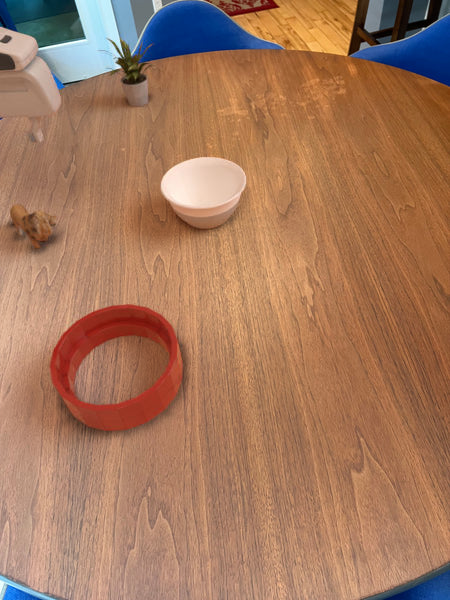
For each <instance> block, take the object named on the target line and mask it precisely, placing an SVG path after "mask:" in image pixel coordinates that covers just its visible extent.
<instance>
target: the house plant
mask: <svg viewBox="0 0 450 600" xmlns="http://www.w3.org/2000/svg"><path fill="white" fill-rule="evenodd" d="M105 39H106V40H108V41H109V42H110V43H111V44H112V45H113V47H114V49H115V50H116V52H117V53H118V55H119V57H118V56H117V55H114V54H113V53H112V52H110V56H111V57H113V60H115V61H114V63H115V64H116V65H118V66H120V67H121V69H122V70H121V69H113V68H112V67H107V70H108V69H109V70H111V71H110V73H109V76H108V77H109V79H110V77H112V76H113V75H114V74H116V73H117V74H119V75H121V76H122V77H121V78H120V80H119V81H120V84H121V86H122V90H123V91H124V94H125V97H126V100H127V101H128V103H129V104H128V105H129V106H131V107H132V108H139V107H144V106H146V105H147V104H148V103H149V77H148V75H146V73H145V72H146V71H147V69H148V68H150V67H155V65H154V64H151V63H150V62H141V60H142V58H143V56H144V55H145V53H147V51H148V49H149V48H150V47H151V46H153V45H154V43H151V44H150V45H148V46H146V48H145V50H144V51H143V53H142V54H141V51H142V45H143V41H144V40H142V41H141V43H140V45H139V49H138V53H136V54H134V55H133V56H132V53H131V48H130V43H127V42H126V41H125V40H124V39H122V38H121V37H119V42H120V46H121V49H120V47H119V46H118V45H117V43H116V42H115V41H113V40H112V39H110V38H108V37H105ZM98 52H106V54H107V55H109V51H108V50H101V49H100V50H98ZM111 54H112V55H111ZM114 56H115V57H114ZM140 63H141V64H140ZM146 65H148V66H146ZM145 66H146V67H145ZM144 67H145V69H144V70H143V68H144ZM142 70H143V72H142V73H141V71H142ZM120 72H122V73H123V74H121V73H120Z"/></svg>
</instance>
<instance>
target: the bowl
mask: <svg viewBox="0 0 450 600" xmlns="http://www.w3.org/2000/svg"><path fill="white" fill-rule="evenodd" d="M246 185H247V176H246V173H245V171H244V170H243V169H242V167H241V166H240V165H239V164H237V163H235V162H233V161H231V160H230V159H229V160H228V159H226V158H221V157H214V156H202V157H195V158H191V159H187V160H184V161H182V162H179V163H177V164H176V165H174V166H172V167H171V168H170V169H168V170H167V171H166V172H165V174H164V175H163V177H162V178H161V181H160V192H161V194H162V196H163V197H164V198H165V199H166V200H167V201H168V202H169V204H170V207H171V208H172V210H173V212H174V213H175V214H176V215H177V216H178V217H179V218H180V219H181V220H182V221H184V222H185V223H187V224H188V225H189V226H191V227H193V228H196V229H200V230H208V229H214V228H218V227H219V226H222V225H223V224H225V223H226V222H227V221H228V220H229V218H230V217H231V216H232V215H233V214H234V213H235V211H236V209H237V207H238V206H239V203H240V198H241V195H242V193H243V191H244V190H245V188H246Z"/></svg>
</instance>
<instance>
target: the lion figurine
mask: <svg viewBox="0 0 450 600" xmlns="http://www.w3.org/2000/svg"><path fill="white" fill-rule="evenodd" d="M9 215H10V218H11V221H12V223H11V226H14V227H15V228H16V231H17V233H18V236H22V235H23V232H25V234H26V236H27V237H28V238H29V241H30V242H31V243H32V245H33V246H34V248H35V249H36V250H39V249H41V248H42V246H41V245H40V244H39V242H38V241H40V242H43V243H47V242H48V241H49V237H50V236H51V235H52V233H53V228H52V227H57V222H58V216H56V215H50V214H49V213H45V211H44V210H42V209H39V210H36V211H35V210H34V211H33V212H32V213H29V212H28V211H27V209H26V207H25V206H24V205H22V204H13V205H12V206H11V207H10V210H9Z"/></svg>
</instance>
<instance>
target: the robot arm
mask: <svg viewBox="0 0 450 600" xmlns="http://www.w3.org/2000/svg"><path fill="white" fill-rule="evenodd" d="M38 52H39V44H38V41H37V39H36V38H35V37H33V36H31V35H29V34H24V33H21V32H18V31H14V30H11V29H8V28H5V27H2V26H0V119H7V118H9V119H10V118H12V119H13V118H14V119H15V118H27V119H28V122H29V123H30V124H33V125H32V127H30V128H29V130H28V131H27V136H28V138H29V141H30V143H42V142H43V140H44V134H43V131H42V129H41V127H42V123H43V119H44V118H51V117H54V116H55V115H56V113H57V112H58V110H59V109H60V107H61V104H62V97H61V94H60V91H59V88H58V86H57V82H56V81H55V78H54V75H53V73H52V71H51V69H50V67H49V66H48V64H47V62H46V61H44V59H43V58H41V57H40V56H38V55H37V54H38Z"/></svg>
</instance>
